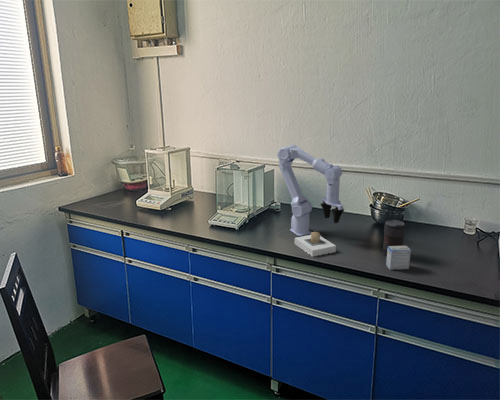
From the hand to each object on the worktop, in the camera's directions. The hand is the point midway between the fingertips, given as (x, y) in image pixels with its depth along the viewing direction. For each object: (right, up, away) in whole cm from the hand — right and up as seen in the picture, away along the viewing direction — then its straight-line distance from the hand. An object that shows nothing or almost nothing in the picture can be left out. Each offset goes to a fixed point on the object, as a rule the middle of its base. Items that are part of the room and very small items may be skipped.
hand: (331, 220), depth 189 cm
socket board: (-9, -12, -6) cm, 16 cm away
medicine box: (+21, -18, -26) cm, 38 cm away
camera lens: (+23, -15, -15) cm, 31 cm away
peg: (-9, -12, -6) cm, 16 cm away
